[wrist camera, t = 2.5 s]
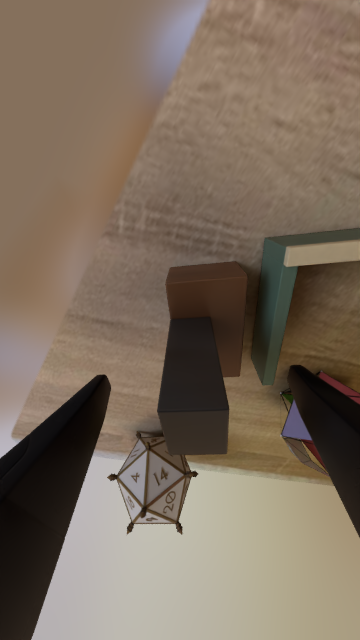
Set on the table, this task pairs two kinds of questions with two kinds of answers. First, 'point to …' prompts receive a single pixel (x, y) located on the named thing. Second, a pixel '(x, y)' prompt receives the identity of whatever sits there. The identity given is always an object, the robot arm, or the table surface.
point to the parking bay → (290, 286)
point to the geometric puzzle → (297, 429)
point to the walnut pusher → (201, 355)
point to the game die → (154, 483)
